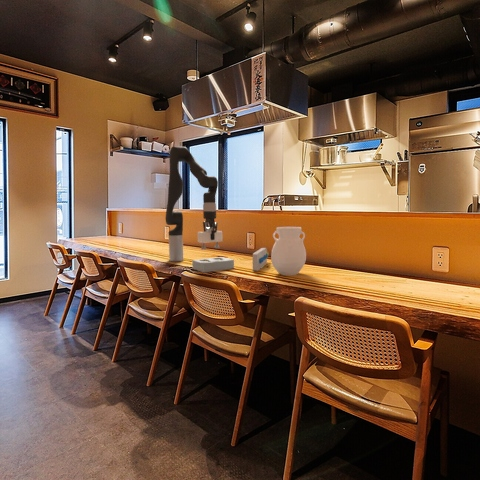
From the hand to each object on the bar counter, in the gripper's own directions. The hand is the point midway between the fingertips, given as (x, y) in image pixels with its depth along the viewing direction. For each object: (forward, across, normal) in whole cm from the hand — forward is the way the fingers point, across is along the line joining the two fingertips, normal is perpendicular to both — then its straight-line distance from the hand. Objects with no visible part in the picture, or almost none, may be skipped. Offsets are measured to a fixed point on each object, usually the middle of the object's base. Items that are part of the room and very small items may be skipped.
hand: (210, 239), depth 203 cm
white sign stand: (+5, 0, 0) cm, 5 cm away
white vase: (+17, +40, +25) cm, 51 cm away
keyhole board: (+17, +2, 0) cm, 17 cm away
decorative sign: (+17, +14, +27) cm, 35 cm away
